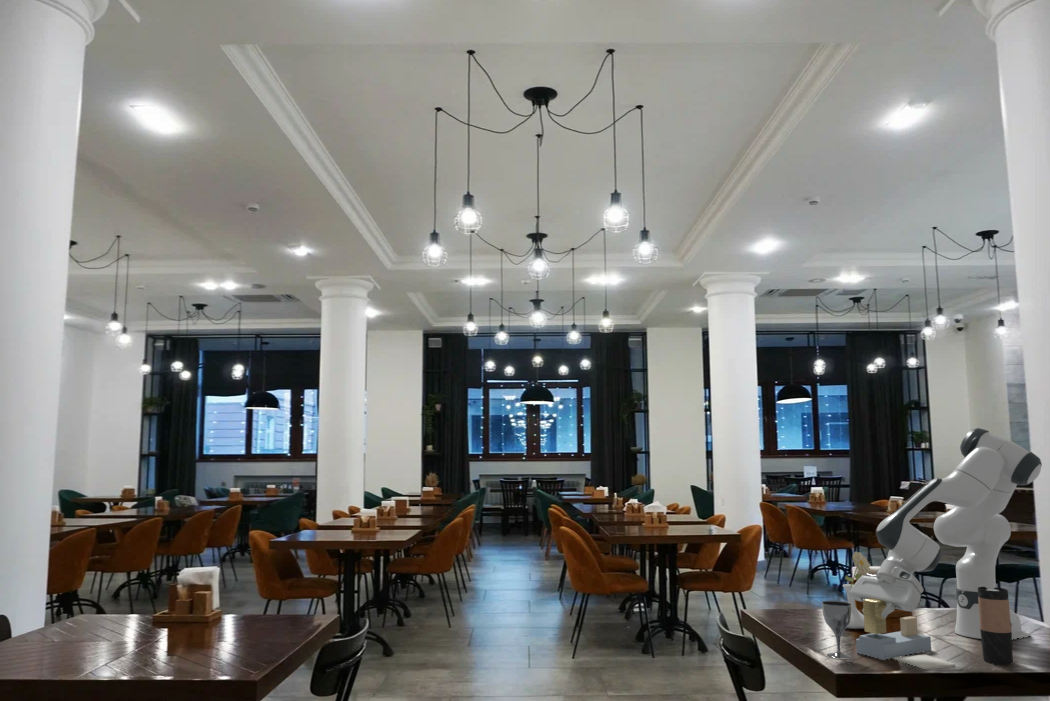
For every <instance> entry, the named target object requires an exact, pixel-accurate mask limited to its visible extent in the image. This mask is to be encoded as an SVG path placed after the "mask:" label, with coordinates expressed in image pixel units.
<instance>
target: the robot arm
mask: <svg viewBox="0 0 1050 701" xmlns="http://www.w3.org/2000/svg"><path fill="white" fill-rule="evenodd" d="M959 449H960V452H961V455H962V456H963V459H962V460H961V461H960V463H958V464H957V466H956V467H955V468H954V470H953V471H952V472H951V473H949V474H948V475H947V476H945V477H943V478H938V477H935V478H933V479H931V480H930V481H928V482H926V483H925V484H924V485H922V486H921V487H920V488H919V489H918V490H916V492H915V493H914V494H912V495H911V496H910V497H909V498H908V499H907V500H905V502H903V504H902V505H900V506H899V507H898V508H897V509H895V510H894V511H893V512H892V513H891V514H889V515H888V516H887V517H885V518H884V519H883V520H882V521H881V522H880V523H879V524H878V525H877V527H876V529H875V533H876V537H877V541H878V544H879V545H881V546H883V547H885V548H886V549H888V552H887V557H886V558H885V559H884V560H883V561H882V563H881V565H880V566H879V568H878V571H877V572H876V574H870V573H868V574H864V575H862V576H861V577H860V578H859V579H858V580H857V579H856V582H855V583H853V585H854V586H853V587H852V589H851V595H852V596H853V597H854V599H855V601H857V602H862V603H863V600H866V599H877V600H882V601H885V609H883V610H880V611H879V613H878V615H879V616H880V618H884V619H886V620H887V617H888V615H889V614H891V613H893V612H895V609H896V610H901V611H906V612H911V613H912V612H913V611H916V609H917V608H918V605H919V603H920V600H921V597H922V595H921V594H922V593H923V592H924V588H923V585H922V584H921V583H920V581H919V580H918V578H916V576H915V575H914V574H915V572H917V573H924V572H931V571H934V570H935V569H936V568H937V566H938V564H940V562H941V560H942V557H943V556H942V555H943V553H942V548H941V545H940V544H938V543H937V542H936V541H935V540H934V539H932V537H929V536H928V535H927V534H925V533H923V532H921V530H920V529H917V527H915V526H913V524H911V523H910V521H911V520H912V518H914V517H915V516H916V515H917V514H918V513H919V512H920V511H921V510H922V509H924V508H925V507H926V506H927V505H929V504H930V503H932V502H940V503H943V504H944V503H945V504H948V505H951V506H953V507H952V508H951V509H950V510H948V511H946V512H945V513H943V514H941V515H939V516H938V517H937V518H935V520H934V523H933V532H934V535H935V537H936V539H937V541H938V542H940V543H941V544H943V545H947V546H951V547H956V548H960V547H961V548H962V547H963V548H965V547H966V551H965V553H964V555H963V556H962V557H961V558H960V559H959V560H958V561H957V562H956V565H955V574H956V575H955V576H956V588H955V597H956V598H955V599H956V600H957V604H956V619H955V620H956V622H955V625H954V633H955V634H957V635H959V636H963V637H968V638H973V639H980V640H981V632H980V618H979V603H978V587H986V588H988V589H994V588H995V587H997V583H996V564H997V559H998V556H999V553H1000V550H1001V549H1002V547H1003V546H1004V544H1005V543H1006V542H1008V541H1009V539H1010V537H1011V534H1012V528H1011V525H1010V522H1009V520H1008V519H1007V518H1006V517H1005V516H1004V515H1002V514H1000V513H1002V512H1003V511H1004V510H1005V509H1006V507H1007V506H1008V504H1009V502H1010V499H1011V498H1012V496H1013V494H1014V492H1015V490H1016V488H1017V486H1028V485H1030V484H1031V483H1033V482H1034V481H1035V480H1036V479H1037V478H1039V475H1040V473H1041V469H1042V467H1043V466H1042V465H1043V464H1042V460H1041V458H1040V457H1039V456H1038V455H1036V454H1035V453H1033V452H1032V451H1028V450H1027V449H1025V448H1024V447H1023V446H1020V444H1017V443H1015V442H1013V441H1012V440H1009V439H1006V438H1004V437H1002V436H1000V435H997V434H994V433H992V432H990V431H989V430H988V429H987V430H986V429H985V428H979V427H977V428H973V429H970V430H969V431H968V432H967V433H966V434H965V435H964V437H963V438H962V440H961V443H960V448H959ZM862 614H864V607H863V608H862ZM1010 620H1011V632H1012V641H1013V639H1014V640H1018V639H1017V638H1019V639H1023V637H1024V638H1029V637H1028V636H1030V637H1031V636H1032V635H1031V632H1030V631H1027V630H1024V629H1022V624H1021V620H1020V617H1019V616H1018V614H1017V613H1015V612H1014V611H1013V610H1011V609H1010Z"/></svg>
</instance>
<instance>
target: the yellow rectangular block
mask: <svg viewBox="0 0 1050 701" xmlns="http://www.w3.org/2000/svg"><path fill="white" fill-rule="evenodd" d="M862 604H863V608H864V613H863V615H864V626H865V628H864V632H867V633H869V634H871V633H874V634H887V618H886V619H884V618H880V616H879V615H878V613H879V611H880V610H883V609H885V608H886V606H885V601H882V600H877V599H866V600H863V602H862Z"/></svg>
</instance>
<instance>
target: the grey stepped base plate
mask: <svg viewBox="0 0 1050 701" xmlns="http://www.w3.org/2000/svg"><path fill="white" fill-rule="evenodd" d="M899 622H900V631H894V632H886V633H880V634H874V633H866V634H862V635H859V636H858V637H859V638H856V639H855V643H856V645H855V646H856V654H858V653H859V655H862V654H863V655H862V656H865V655H867V657H869V656H871V657H870V658H873V657H874V658H873V659H877V658H878V659H879V660H881V661H886V659H888V660H891V659H890V658H892V659H893V657H900V656H905V655H907V656H910V655H909V654H912V655H915V654H914V653H917V654H919V653H918V652H922V653H924V652H923V651H926V652H930V651H929V650H931V651H932V640H931V639H932V637H931V636H929V635H924V634H919V633H918V621H917V617H916V616H911V615H909V616H904V617H899ZM878 659H877V660H878Z"/></svg>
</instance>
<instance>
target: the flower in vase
mask: <svg viewBox="0 0 1050 701" xmlns="http://www.w3.org/2000/svg"><path fill="white" fill-rule="evenodd" d="M851 558H852V562H853V563H854V566H855V570H854V574H853V577H850V576H848V575H845V576H844V578H845V580H846V581H849V582H851V583H850V584H849V583H848V584H847V583H846V584H843V585H842V587H843V588H844V589H845V592H846V597H847V602H848V603H851V619H850V623H849V625H848V626H847V628H846V629H854V630H859V629H865V626H864V613H863V612H862V613H861V612H860V610H858V608H857V606H856V600H855V599H854V597H853V596H852V595H851V589H852V587H853V586H854V580H855V579H856V581H857V580H858V579H859V578H860V577H861V576H863V575H862V574H864V575H866V574H869V572H871V568H870V567H871V564H870V563H869V561H868V560H867V557H866V556H864V554H862V553H861V552H859V551H855V552H853V554H852V557H851ZM857 571H859V573H857ZM860 572H861V573H862V574H860Z"/></svg>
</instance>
